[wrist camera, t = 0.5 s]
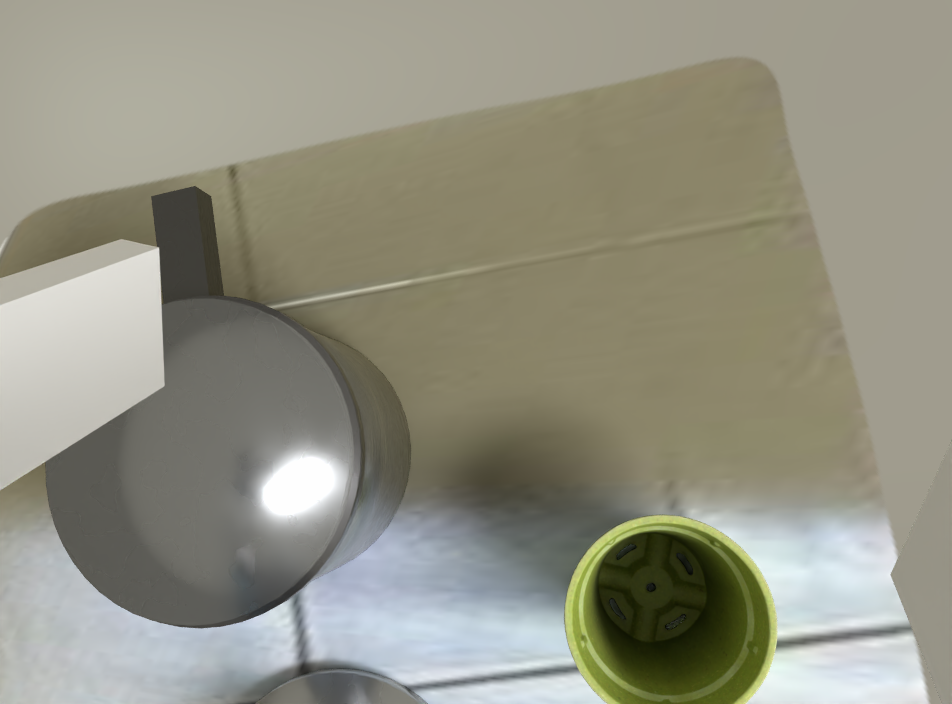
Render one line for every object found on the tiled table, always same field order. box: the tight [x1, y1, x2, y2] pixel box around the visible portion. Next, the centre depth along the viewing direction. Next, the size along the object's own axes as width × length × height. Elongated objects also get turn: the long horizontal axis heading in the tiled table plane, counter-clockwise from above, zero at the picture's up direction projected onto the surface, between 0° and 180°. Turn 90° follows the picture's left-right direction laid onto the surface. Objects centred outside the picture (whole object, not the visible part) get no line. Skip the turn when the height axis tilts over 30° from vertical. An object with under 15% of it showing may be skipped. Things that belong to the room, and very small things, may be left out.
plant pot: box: [564, 515, 777, 704], centre depth 38 cm, size 9×9×9 cm
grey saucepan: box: [46, 186, 411, 628], centre depth 41 cm, size 21×16×12 cm
